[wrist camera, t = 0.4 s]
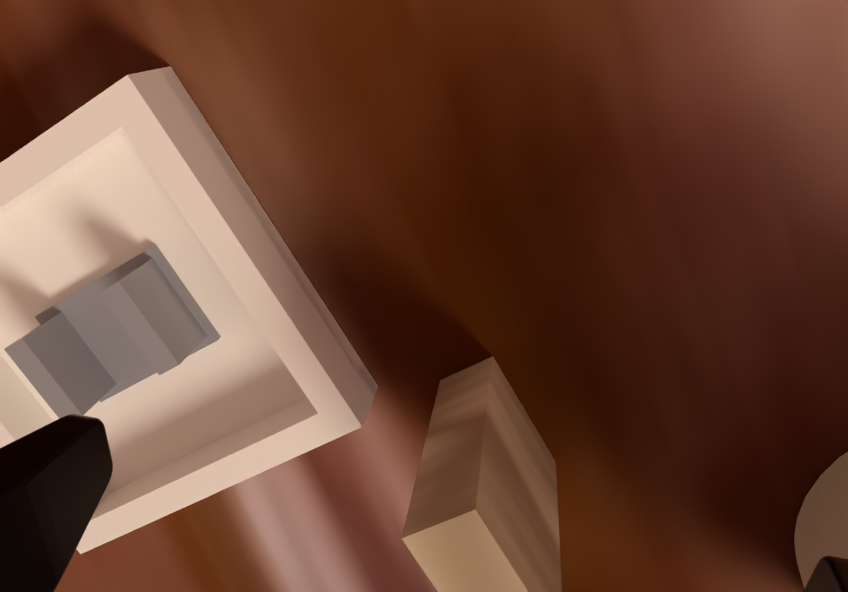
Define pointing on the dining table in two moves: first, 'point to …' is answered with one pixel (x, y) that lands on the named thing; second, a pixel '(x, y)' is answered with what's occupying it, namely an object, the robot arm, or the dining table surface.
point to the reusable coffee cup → (823, 519)
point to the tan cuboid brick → (484, 492)
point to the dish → (161, 308)
